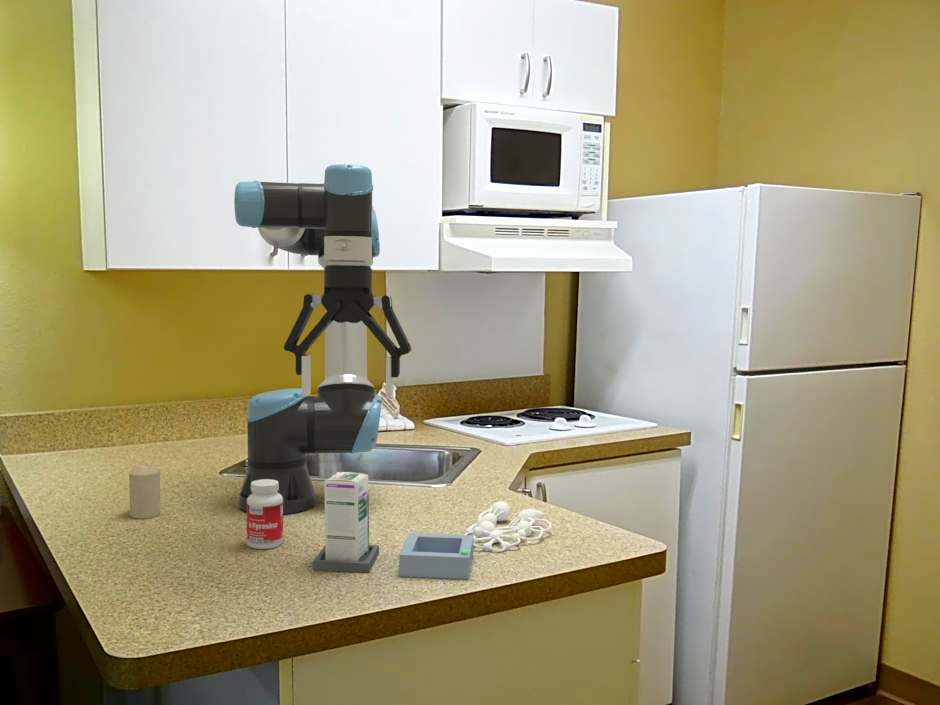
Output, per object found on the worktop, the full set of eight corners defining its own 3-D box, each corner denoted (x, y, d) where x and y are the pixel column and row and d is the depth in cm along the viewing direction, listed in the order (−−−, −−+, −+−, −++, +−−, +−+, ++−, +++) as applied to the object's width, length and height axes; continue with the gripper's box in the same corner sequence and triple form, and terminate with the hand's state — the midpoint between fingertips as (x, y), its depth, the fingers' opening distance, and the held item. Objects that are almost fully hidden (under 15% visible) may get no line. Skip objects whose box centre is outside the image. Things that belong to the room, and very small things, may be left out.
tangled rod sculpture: (519, 567, 142) (521, 544, 141) (444, 546, 148) (445, 524, 147) (559, 532, 159) (561, 511, 158) (490, 515, 165) (492, 495, 165)
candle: (166, 512, 164) (165, 462, 163) (147, 520, 159) (146, 468, 158) (143, 509, 166) (142, 459, 165) (123, 517, 161) (122, 465, 160)
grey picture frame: (313, 570, 134) (313, 561, 134) (326, 551, 143) (326, 543, 143) (368, 572, 134) (369, 563, 134) (378, 553, 143) (378, 545, 143)
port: (399, 576, 133) (399, 551, 132) (408, 552, 144) (409, 530, 143) (468, 579, 132) (469, 554, 131) (473, 555, 143) (473, 532, 142)
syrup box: (358, 569, 135) (358, 481, 134) (323, 566, 136) (323, 478, 135) (369, 557, 141) (370, 472, 139) (336, 554, 142) (336, 470, 141)
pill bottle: (243, 550, 143) (243, 486, 142) (250, 538, 149) (249, 477, 148) (280, 549, 144) (280, 486, 143) (285, 538, 150) (285, 477, 149)
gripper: (263, 262, 131) (264, 397, 133) (423, 265, 129) (421, 402, 131) (278, 263, 138) (278, 391, 140) (428, 265, 137) (427, 395, 139)
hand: (347, 396), depth 136 cm, fingers open, 13 cm apart
